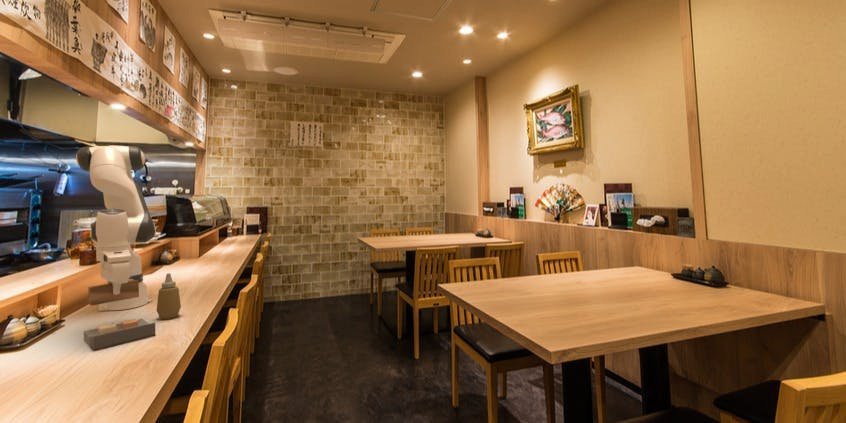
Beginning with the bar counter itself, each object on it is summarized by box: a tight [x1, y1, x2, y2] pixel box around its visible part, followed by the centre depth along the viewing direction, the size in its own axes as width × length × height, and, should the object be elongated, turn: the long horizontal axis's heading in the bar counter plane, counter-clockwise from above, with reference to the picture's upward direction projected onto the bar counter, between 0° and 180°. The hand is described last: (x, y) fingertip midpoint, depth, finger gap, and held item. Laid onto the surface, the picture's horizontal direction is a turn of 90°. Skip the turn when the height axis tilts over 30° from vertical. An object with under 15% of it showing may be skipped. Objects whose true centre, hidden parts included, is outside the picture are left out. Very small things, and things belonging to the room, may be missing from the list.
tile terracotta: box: [120, 318, 138, 328], centre depth 124 cm, size 4×4×2 cm
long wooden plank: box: [87, 280, 139, 306], centre depth 124 cm, size 3×13×6 cm, turn 144°
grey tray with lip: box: [83, 318, 156, 352], centre depth 120 cm, size 14×16×4 cm
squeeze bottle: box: [156, 273, 182, 320], centre depth 142 cm, size 8×8×18 cm
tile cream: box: [97, 323, 117, 334], centre depth 119 cm, size 4×4×2 cm
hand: (114, 293), depth 124 cm, fingers closed on long wooden plank, 3 cm apart
